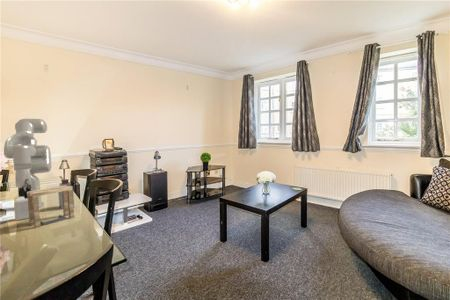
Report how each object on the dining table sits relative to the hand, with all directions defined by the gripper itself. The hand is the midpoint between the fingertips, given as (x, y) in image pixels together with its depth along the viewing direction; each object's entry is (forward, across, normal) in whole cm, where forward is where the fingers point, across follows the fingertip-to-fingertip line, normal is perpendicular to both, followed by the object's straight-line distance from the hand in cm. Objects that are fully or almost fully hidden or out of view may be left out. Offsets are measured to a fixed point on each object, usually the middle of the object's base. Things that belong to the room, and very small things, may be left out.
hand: (25, 197), depth 135 cm
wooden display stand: (+13, +18, +6) cm, 23 cm away
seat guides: (+13, +18, +6) cm, 23 cm away
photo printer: (+12, -1, 0) cm, 13 cm away
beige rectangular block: (+12, -5, +22) cm, 26 cm away
